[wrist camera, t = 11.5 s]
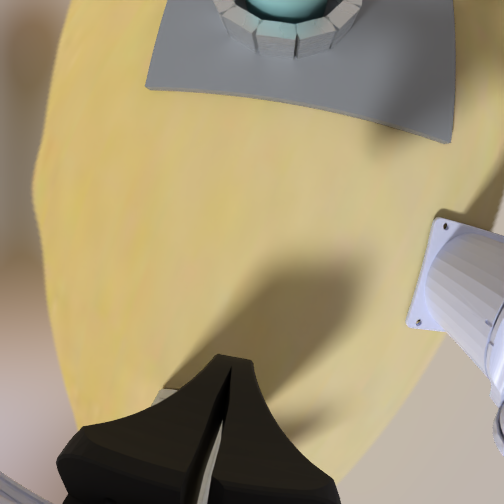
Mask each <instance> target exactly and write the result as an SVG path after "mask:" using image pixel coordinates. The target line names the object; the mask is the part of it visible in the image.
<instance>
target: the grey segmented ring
mask: <svg viewBox="0 0 504 504" xmlns="http://www.w3.org/2000/svg"><path fill="white" fill-rule="evenodd" d="M213 2H214V5H215V7H216V10H217V12H218V14H219V16H220V18H221V21H222V23H223V25H224V27H225V29H226V31H227V34H228V35H230V38H232V39H234V40H235V41H237V42H238V43H240V44H242V45H243V46H245V47H246V48H248V49H249V50H251V51H252V52H254V53H255V54H256V53H257V52H258V51H259V54H260V55H262V56H270V57H277V58H284V59H290V60H293V58H294V54H295V56H296V58H297V60H298V59H302V58H305V57H309V56H312V55H316V54H319V53H323V52H327V51H328V50H329V48H330V49H332V48H333V47H334V46H335V45H336V44H337V43H338V42H339V41H340V40H341V39H342V38H343V37H344V36H345V35H346V34H347V33H348V32H349V31H350V29H351V27H352V25H353V23H354V21H355V18H356V16H357V14H358V12H359V10H360V8H361V6H362V0H337V2H338V6H337V7H336V8H335V9H334V10H332V11H331V12H330V13H329V14H328V15H327V16H326V17H322V18H318V19H314V20H310V21H306V22H302V23H298V24H290V23H284V22H276V21H268V20H261V19H259V18H258V17H256V16H254V15H253V14H251V13H249V12H248V11H246V10H244V9H242V8H241V7H239V6H237V5H236V4H235V0H213Z"/></svg>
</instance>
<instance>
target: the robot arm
mask: <svg viewBox="0 0 504 504" xmlns="http://www.w3.org/2000/svg"><path fill="white" fill-rule="evenodd" d="M445 223H446V224H447V227H446V229H444V228H443V225H444V224H445ZM419 319H420V322H419V323H417V324H416V321H417V320H419ZM405 322H406V324H407V326H408V327H410V328H416V329H424V330H433V331H442V332H447V333H448V334H449V335H450V337H452V339H453V340H454V341H455V342H456V343H457V344H458V345H459V346H460V347H461V348H462V349H463V351H464V352H465V353H466V354H467V355H468V356H469V357H470V358H471V359H472V360H473V362H474V363H475V364H476V365H477V366H478V367H479V368H480V369H481V370H482V372H483V373H484V374H485V375H486V376H487V378H488V379H489V380H490V381H491V392H490V395H489V396H490V398H491V399H492V400H493V401H494V403H495V404H496V405H497V407H498V408H499V410H498V412H497V414H496V416H495V419H494V423H493V437H494V441H495V443H496V445H497V448H498V449H499V451H500V452H501V454H502V455H503V456H504V236H502V235H499V234H496V233H493V232H490V231H486V230H483V229H480V228H476V227H473V226H470V225H466V224H463V223H459V222H456V221H452V220H449V219H445V218H441V217H437V218H435V219H434V220H433V223H432V227H431V231H430V236H429V240H428V244H427V248H426V252H425V256H424V260H423V264H422V268H421V271H420V275H419V278H418V282H417V285H416V289H415V292H414V295H413V299H412V302H411V305H410V308H409V311H408V314H407V317H406V321H405ZM222 421H223V422H222ZM221 424H222V432H221V441H220V445H219V449H218V453H217V457H216V461H215V464H214V468H213V472H212V475H211V482H210V488H209V495H208V501H207V504H341V501H340V497H339V494H338V491H337V488H336V485H335V482H334V480H333V479H332V478H331V477H330V476H328V475H327V474H326V473H324V472H323V471H322V470H320V469H319V468H318V467H316V466H315V465H314V464H312V463H311V462H310V461H309V460H308V459H307V458H306V457H305V456H304V455H302V454H301V452H300V451H299V450H298V449H297V448H296V447H295V446H294V445H293V444H292V442H291V441H290V440H289V439H288V438H287V436H286V435H285V434H284V432H283V431H282V430H281V428H280V427H279V425H278V424H277V422H276V421H275V419H274V417H273V416H272V414H271V412H270V410H269V408H268V406H267V404H266V402H265V400H264V398H263V396H262V393H261V391H260V388H259V385H258V382H257V379H256V376H255V372H254V366H253V362H252V361H251V360H247V359H242V358H236V357H231V356H226V355H221V354H217V355H215V356H214V357H213V359H212V360H211V361H210V362H209V363H208V364H207V365H206V367H205V368H204V369H203V370H202V371H201V372H199V373H198V374H197V375H196V376H195V377H194V378H193V379H192V380H191V381H189V382H188V383H187V384H186V385H184V386H183V387H182V388H180V389H179V390H178V391H176V392H175V393H173V394H172V395H170V396H169V397H167V398H166V399H164V400H162V401H161V402H159V403H157V404H155V405H153V406H151V407H149V408H147V409H145V410H143V411H140V412H138V413H136V414H133V415H130V416H127V417H124V418H121V419H117V420H114V421H110V422H105V423H100V424H95V425H89V426H83V427H82V428H81V429H80V430H79V431H78V432H77V433H76V434H75V435H74V436H73V437H72V439H71V440H70V441H69V442H68V444H67V445H66V446H65V448H64V449H63V451H62V452H61V454H60V455H59V456H58V458H57V461H56V465H57V469H58V472H59V474H60V476H61V479H62V481H63V483H64V485H65V488H66V490H67V492H68V495H67V497H66V498H65V500H64V502H63V504H197V502H198V498H199V493H200V489H201V485H202V481H203V477H204V473H205V469H206V466H207V463H208V460H209V458H210V455H211V452H212V449H213V446H214V444H215V441H216V438H217V435H218V432H219V430H220V427H221ZM0 504H53V503H51V502H49V501H48V500H46V499H44V498H42V497H40V496H38V495H37V494H35V493H33V492H32V491H30V490H28V489H27V488H25V487H23V486H22V485H20V484H18V483H17V482H15V481H14V480H12V479H11V478H9V477H8V476H6V475H5V474H3V473H2V472H0Z"/></svg>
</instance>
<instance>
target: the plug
mask: <svg viewBox="0 0 504 504" xmlns="http://www.w3.org/2000/svg"><path fill="white" fill-rule="evenodd" d="M327 1H328V0H246V4H247V9H248V12H249V13H251V14H253V15H254V16H256V17H258V18H259V19H261V20H268V21H276V22H284V23H290V24H298V23H302V22H306V21H310V20H314V19H318V18H322V17H323V15H324V12H325V8H326V5H327Z"/></svg>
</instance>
